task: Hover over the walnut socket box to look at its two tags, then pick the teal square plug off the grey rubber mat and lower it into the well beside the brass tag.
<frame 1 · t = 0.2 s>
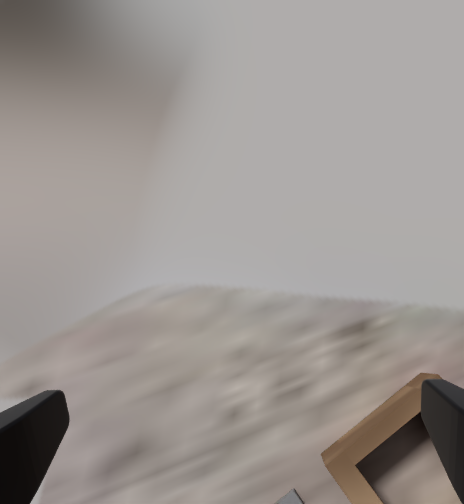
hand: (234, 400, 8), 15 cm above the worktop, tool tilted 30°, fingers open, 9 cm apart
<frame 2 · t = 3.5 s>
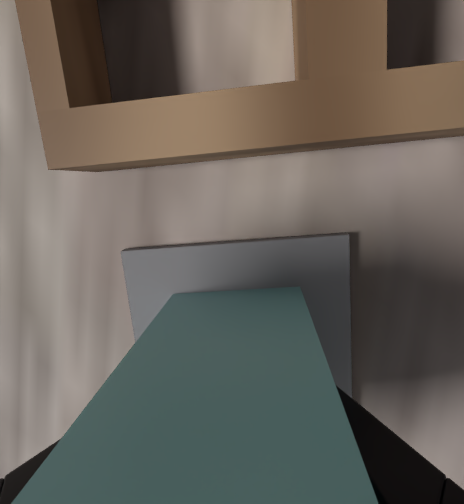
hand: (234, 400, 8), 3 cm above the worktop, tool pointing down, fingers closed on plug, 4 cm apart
plug: (240, 348, 11), resting on mat, touching gripper
mat: (241, 342, 11), on the worktop
when the fingers open (4 cm above the worktop, at t = 7.8 s): plug drops 1 cm, resting in socket box.
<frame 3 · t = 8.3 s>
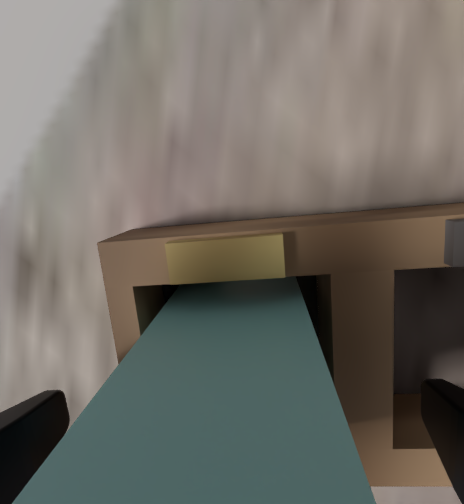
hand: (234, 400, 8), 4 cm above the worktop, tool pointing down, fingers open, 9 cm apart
socket box: (341, 327, 12), on the worktop
plug: (242, 332, 12), resting in socket box
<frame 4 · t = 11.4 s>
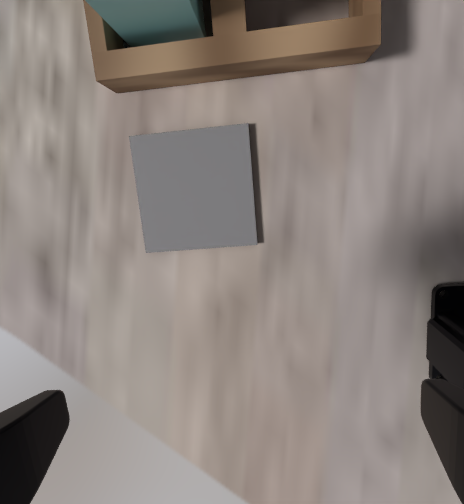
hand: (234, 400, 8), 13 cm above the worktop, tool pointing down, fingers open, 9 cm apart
plug: (166, 8, 18), resting in socket box
mat: (195, 191, 20), on the worktop
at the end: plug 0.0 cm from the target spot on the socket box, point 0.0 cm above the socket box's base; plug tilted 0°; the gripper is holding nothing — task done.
